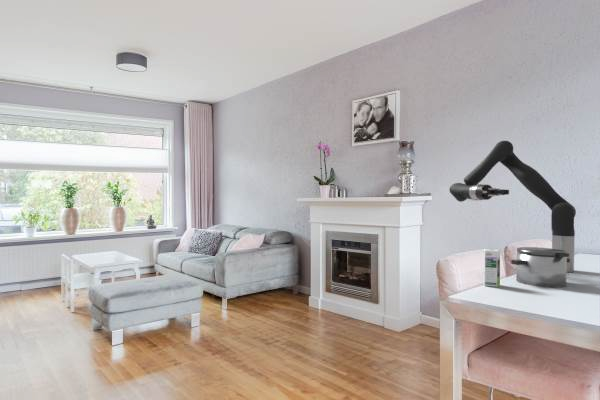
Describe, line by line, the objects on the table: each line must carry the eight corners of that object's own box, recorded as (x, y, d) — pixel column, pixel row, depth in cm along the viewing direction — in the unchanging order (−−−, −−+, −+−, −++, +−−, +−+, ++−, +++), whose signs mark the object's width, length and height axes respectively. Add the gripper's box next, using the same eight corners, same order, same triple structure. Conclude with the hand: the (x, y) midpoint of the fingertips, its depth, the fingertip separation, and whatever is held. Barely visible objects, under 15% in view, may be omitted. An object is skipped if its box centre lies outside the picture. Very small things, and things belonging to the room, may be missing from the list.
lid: (507, 250, 175) (507, 247, 175) (539, 249, 181) (539, 246, 181) (547, 257, 156) (547, 254, 156) (582, 256, 161) (582, 253, 161)
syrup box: (483, 286, 161) (484, 249, 161) (483, 283, 167) (483, 248, 167) (499, 287, 159) (500, 250, 159) (498, 284, 165) (499, 249, 164)
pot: (497, 279, 174) (497, 251, 174) (547, 276, 182) (548, 250, 182) (532, 289, 157) (532, 258, 157) (586, 285, 165) (586, 256, 165)
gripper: (491, 199, 205) (519, 200, 189) (469, 199, 201) (496, 200, 185) (491, 185, 205) (519, 184, 189) (470, 184, 201) (496, 183, 185)
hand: (507, 192), depth 187 cm, fingers closed
